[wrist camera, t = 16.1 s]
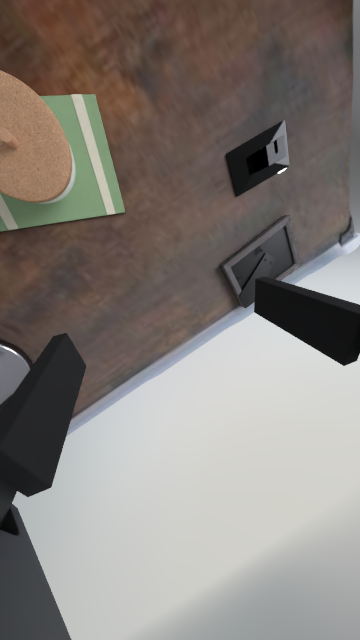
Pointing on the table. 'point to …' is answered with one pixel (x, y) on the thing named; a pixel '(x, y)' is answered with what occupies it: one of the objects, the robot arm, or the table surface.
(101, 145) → the towel
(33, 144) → the trinket box
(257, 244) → the picture frame
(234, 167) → the black mounting bracket
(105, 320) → the table surface
